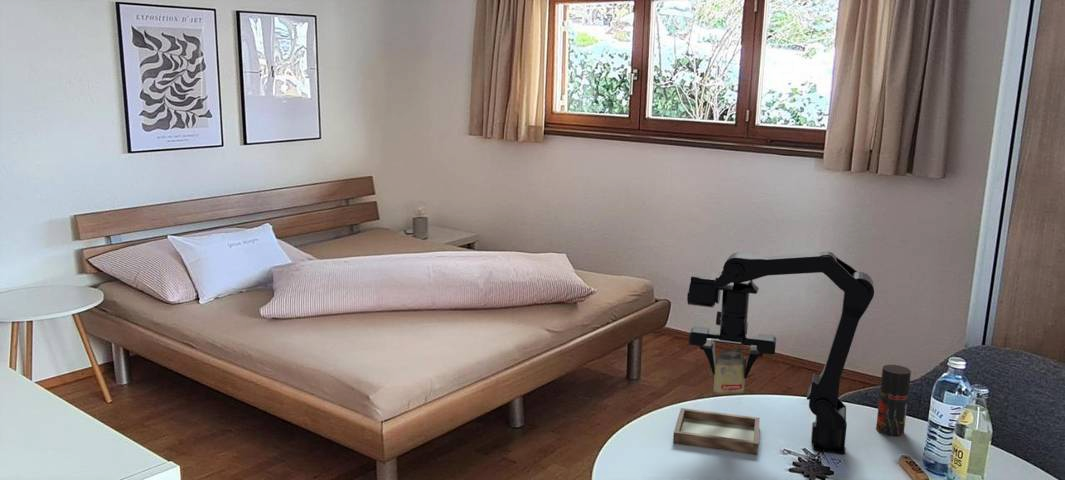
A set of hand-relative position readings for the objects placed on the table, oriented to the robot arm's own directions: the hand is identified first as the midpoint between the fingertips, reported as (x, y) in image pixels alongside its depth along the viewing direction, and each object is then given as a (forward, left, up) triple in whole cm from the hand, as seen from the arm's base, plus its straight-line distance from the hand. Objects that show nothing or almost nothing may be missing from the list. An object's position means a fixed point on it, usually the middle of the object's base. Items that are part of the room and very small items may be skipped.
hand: (729, 376), depth 191 cm
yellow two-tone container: (0, 0, -4) cm, 4 cm away
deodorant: (-36, -11, -13) cm, 40 cm away
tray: (+2, +4, -13) cm, 14 cm away
